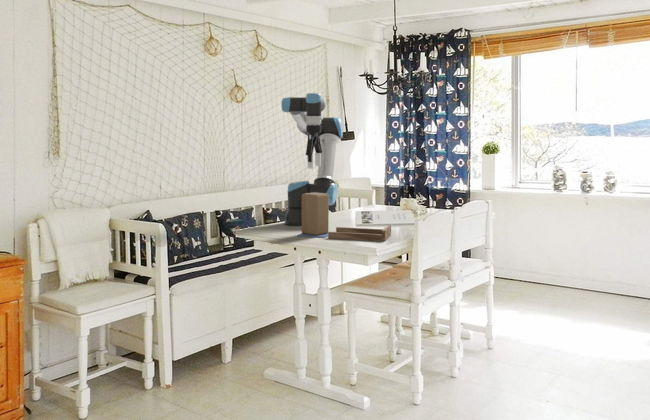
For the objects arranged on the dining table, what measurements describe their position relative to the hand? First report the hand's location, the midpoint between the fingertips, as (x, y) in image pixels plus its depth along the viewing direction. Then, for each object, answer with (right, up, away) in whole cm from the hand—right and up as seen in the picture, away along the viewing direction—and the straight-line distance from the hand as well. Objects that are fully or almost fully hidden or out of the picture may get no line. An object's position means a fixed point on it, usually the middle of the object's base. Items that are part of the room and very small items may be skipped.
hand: (314, 167), depth 321 cm
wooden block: (+1, -33, -5) cm, 34 cm away
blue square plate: (+1, -34, -5) cm, 34 cm away
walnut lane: (+22, -35, -11) cm, 42 cm away
